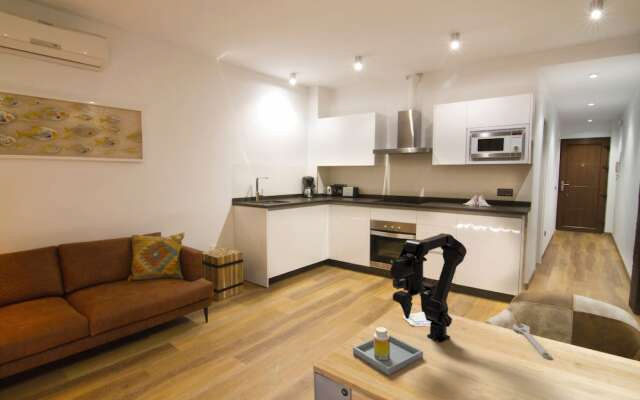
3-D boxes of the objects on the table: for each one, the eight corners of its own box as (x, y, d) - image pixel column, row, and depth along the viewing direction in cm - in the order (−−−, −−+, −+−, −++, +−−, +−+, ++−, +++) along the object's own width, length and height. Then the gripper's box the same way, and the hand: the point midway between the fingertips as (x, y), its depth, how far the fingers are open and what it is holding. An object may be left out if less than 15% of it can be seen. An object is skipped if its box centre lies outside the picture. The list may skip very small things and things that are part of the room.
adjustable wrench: (552, 360, 120) (552, 355, 120) (531, 359, 121) (531, 354, 121) (527, 327, 144) (527, 323, 144) (510, 326, 146) (510, 322, 145)
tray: (386, 339, 137) (386, 333, 137) (422, 357, 123) (422, 351, 123) (353, 353, 127) (353, 347, 127) (388, 376, 113) (388, 368, 113)
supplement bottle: (391, 361, 120) (390, 333, 120) (375, 361, 121) (374, 333, 120) (388, 352, 126) (388, 325, 125) (373, 352, 126) (372, 325, 125)
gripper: (414, 265, 139) (414, 302, 140) (381, 274, 128) (381, 314, 130) (437, 271, 130) (437, 311, 131) (404, 281, 119) (405, 325, 121)
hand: (415, 315), depth 128 cm, fingers open, 9 cm apart
